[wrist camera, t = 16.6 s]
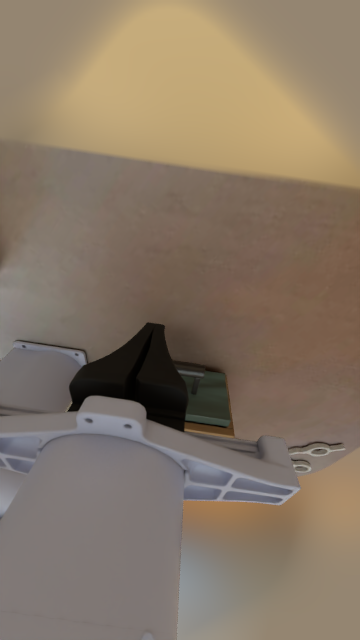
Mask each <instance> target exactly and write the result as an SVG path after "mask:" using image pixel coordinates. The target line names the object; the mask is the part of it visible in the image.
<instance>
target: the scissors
mask: <svg viewBox="0 0 360 640" xmlns="http://www.w3.org/2000/svg"><path fill="white" fill-rule="evenodd" d="M315 449H324V450H320V451H314V450H315ZM339 450H340V451H341V450H345V447H344V446H343V445H342V444H340V445H333V446H328V445H327V444H322V443H316V444H312V445H309V446H307V447H304V448H294V449H290V450H288V452H289V455H292V454H298V453H305V454H310V455H311V456H323V455H327V454H329V453H330V452H332V451H339ZM292 463H293V466H294V469H295V471H296V472H308V471H310V470H311V467H310V465H309V463H307V462H305V461H292ZM297 466H304V467H303V468H298V467H297Z"/></svg>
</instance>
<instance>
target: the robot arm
mask: <svg viewBox="0 0 360 640" xmlns="http://www.w3.org/2000/svg"><path fill="white" fill-rule="evenodd" d="M164 329H165V326H164V325H161V324H155V323H146V325H145V326H144V327H143V328H142V329H141V330H140V331H139V332H138V333H137V334H136V335H135V336H134V337H133V338H132V339H131V340H130V341H128V342H127V343H126V344H125V345H123V346H122V347H121V348H119V349H118V350H116V351H114V352H113V353H111V354H109V355H107V356H105V357H103V358H101V359H99V360H97V361H94V362H91V363H89V364H87V360H86V354H85V352H83V351H80V350H73V349H67V348H60V347H54V346H47V345H41V344H34V343H27V342H21V341H15V342H14V343H13V346H14V349H13V350H12V351H11V352H10V353H8V354H7V355H6V356H5V357H4V358H3V359H2V360H1V361H0V640H176V638H177V620H178V600H179V599H178V598H179V579H180V558H181V539H182V519H183V500H194V501H197V500H198V501H237V502H255V503H265V504H274V505H281V504H283V503H284V502H285V501H286V500H288V499H289V498H290V497H291V496H293V495H294V494H295V493H296V492H298V491H299V490H300V489H301V487H300V485H299V481H298V478H297V475H296V472H295V469H294V466H293V463H292V460H291V457H290V455H289V452H288V449H287V446H286V443H285V440H284V439H283V438H280V437H273V436H261V437H260V438H259V439H258V441H257V442H254V441H248V440H241V439H234V438H228V437H221V436H214V435H208V434H201V433H194V432H188V431H184V428H185V419H186V410H187V406H188V402H189V396H188V390H187V386H186V382H185V380H184V379H183V378H182V377H181V375H180V374H179V372H178V371H177V369H176V367H175V365H174V364H173V362H172V359H171V357H170V355H169V352H168V349H167V345H166V341H165V335H164ZM71 401H72V405H71V406H70V408H69V410H68V411H67V412H65V411H66V409H67V407H68V406H69V404H70V402H71Z"/></svg>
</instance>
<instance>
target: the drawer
mask: <svg viewBox="0 0 360 640" xmlns="http://www.w3.org/2000/svg"><path fill="white" fill-rule="evenodd" d="M172 362H173V364H174V365H175V367H176V369H177V371H178V372H179V374H180V375H181V377H182V378H183V379H184V380H185V382H186V386H187V390H188V396H189V402H188V406H187V410H186V419H185V422H189V423H196V424H202V425H209V426H216V427H218V425H219V426H226V427H228V426H229V424H230V422H231V418H230V410H229V402H228V395H227V387H226V379H225V374H223V373H216V372H210V371H205V366H204V365H199V364H193V363H186V362H180V361H173V360H172Z"/></svg>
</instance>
